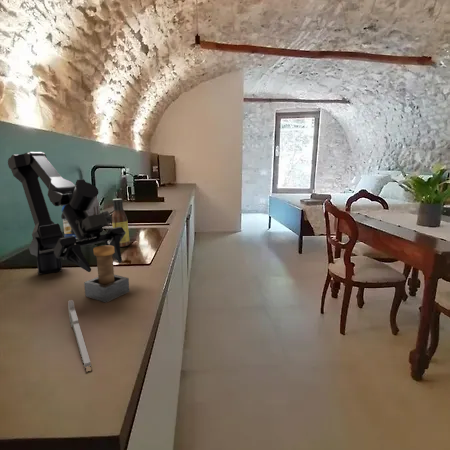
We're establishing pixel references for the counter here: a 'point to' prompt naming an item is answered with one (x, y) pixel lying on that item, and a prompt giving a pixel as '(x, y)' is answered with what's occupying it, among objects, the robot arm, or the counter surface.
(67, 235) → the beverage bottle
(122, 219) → the sauce bottle
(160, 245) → the counter surface
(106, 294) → the socket block
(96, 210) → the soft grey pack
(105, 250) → the pin
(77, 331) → the caliper
